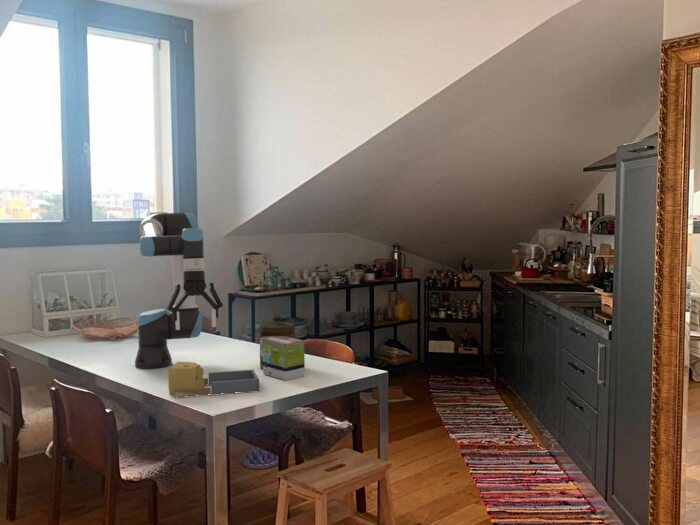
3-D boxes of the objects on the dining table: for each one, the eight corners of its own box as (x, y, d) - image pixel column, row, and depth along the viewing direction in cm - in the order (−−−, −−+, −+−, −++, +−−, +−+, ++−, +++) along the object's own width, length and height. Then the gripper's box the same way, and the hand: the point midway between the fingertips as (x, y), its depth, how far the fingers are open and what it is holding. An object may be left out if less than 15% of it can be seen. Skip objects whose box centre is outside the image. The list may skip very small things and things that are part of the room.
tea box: (262, 374, 282) (261, 338, 281) (281, 370, 289) (281, 334, 288) (285, 381, 271) (285, 343, 270) (305, 376, 278) (305, 339, 277)
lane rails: (174, 386, 264) (173, 380, 264) (208, 384, 268) (207, 377, 267) (174, 397, 249) (174, 391, 249) (210, 395, 252) (210, 388, 252)
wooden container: (255, 371, 287) (254, 317, 286) (265, 363, 302) (264, 312, 300) (291, 372, 285) (290, 318, 283) (299, 364, 300) (298, 312, 298)
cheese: (204, 388, 263) (204, 361, 262) (195, 395, 252) (194, 368, 251) (177, 387, 264) (176, 361, 263) (167, 395, 253) (166, 367, 252)
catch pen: (208, 384, 268) (208, 372, 267) (253, 381, 272) (253, 369, 272) (211, 395, 252) (211, 382, 252) (259, 391, 257) (258, 379, 256)
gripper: (162, 271, 250) (164, 331, 250) (229, 269, 262) (232, 326, 262) (157, 271, 257) (159, 330, 256) (223, 269, 269) (225, 325, 269)
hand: (196, 328), depth 259 cm, fingers open, 13 cm apart
